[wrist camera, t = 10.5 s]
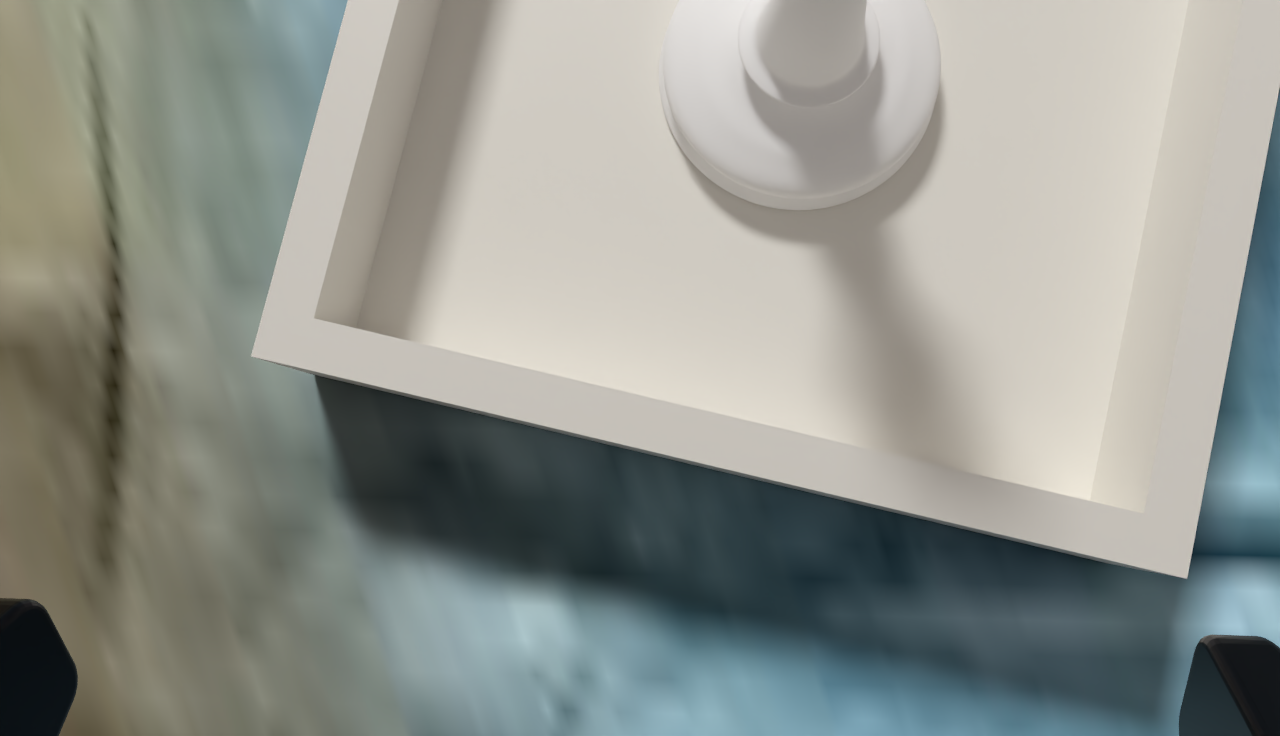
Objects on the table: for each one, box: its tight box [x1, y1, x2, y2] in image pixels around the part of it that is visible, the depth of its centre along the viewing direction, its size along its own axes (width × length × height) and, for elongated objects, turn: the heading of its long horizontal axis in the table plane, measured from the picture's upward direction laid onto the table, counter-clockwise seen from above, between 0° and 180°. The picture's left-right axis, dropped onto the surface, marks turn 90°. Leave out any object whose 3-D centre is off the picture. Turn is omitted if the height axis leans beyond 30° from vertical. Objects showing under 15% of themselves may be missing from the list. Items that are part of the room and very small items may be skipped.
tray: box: [251, 0, 1280, 579], centre depth 19 cm, size 15×15×3 cm
